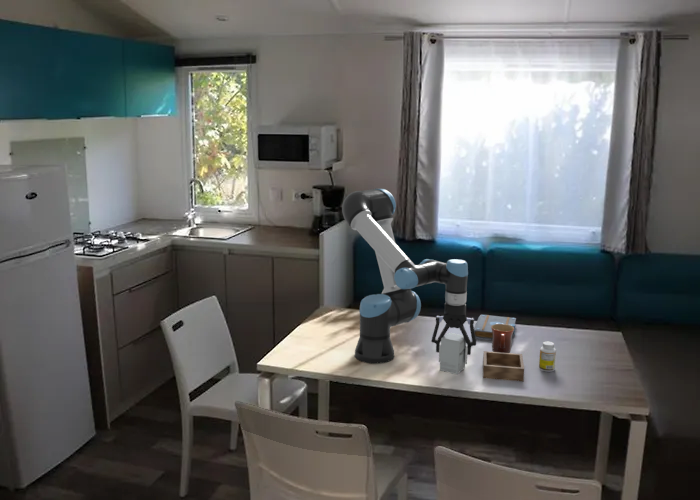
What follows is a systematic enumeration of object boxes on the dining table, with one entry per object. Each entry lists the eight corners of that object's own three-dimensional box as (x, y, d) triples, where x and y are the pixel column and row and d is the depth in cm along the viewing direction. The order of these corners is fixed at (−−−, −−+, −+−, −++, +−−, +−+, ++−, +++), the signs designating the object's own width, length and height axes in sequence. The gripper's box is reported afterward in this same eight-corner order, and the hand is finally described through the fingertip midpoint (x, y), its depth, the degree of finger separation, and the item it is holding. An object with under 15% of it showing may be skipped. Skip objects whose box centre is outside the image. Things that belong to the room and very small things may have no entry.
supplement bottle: (543, 365, 248) (545, 339, 245) (557, 369, 244) (559, 343, 241) (535, 369, 244) (537, 343, 242) (549, 373, 240) (551, 347, 238)
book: (478, 323, 295) (478, 312, 294) (516, 327, 290) (517, 316, 289) (471, 339, 275) (472, 327, 274) (512, 343, 270) (513, 332, 269)
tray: (483, 378, 236) (483, 365, 235) (482, 363, 249) (483, 351, 248) (523, 381, 233) (524, 368, 232) (521, 366, 246) (522, 354, 245)
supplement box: (457, 374, 238) (459, 341, 236) (439, 370, 242) (440, 337, 239) (465, 367, 245) (467, 335, 242) (447, 363, 248) (448, 331, 245)
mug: (489, 347, 265) (491, 323, 262) (512, 349, 263) (513, 324, 261) (489, 358, 253) (491, 333, 251) (513, 360, 252) (515, 335, 249)
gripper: (424, 303, 236) (422, 363, 241) (486, 307, 232) (482, 368, 237) (426, 297, 243) (424, 355, 248) (486, 301, 239) (482, 360, 244)
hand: (452, 361), depth 243 cm, fingers closed on supplement box, 9 cm apart
